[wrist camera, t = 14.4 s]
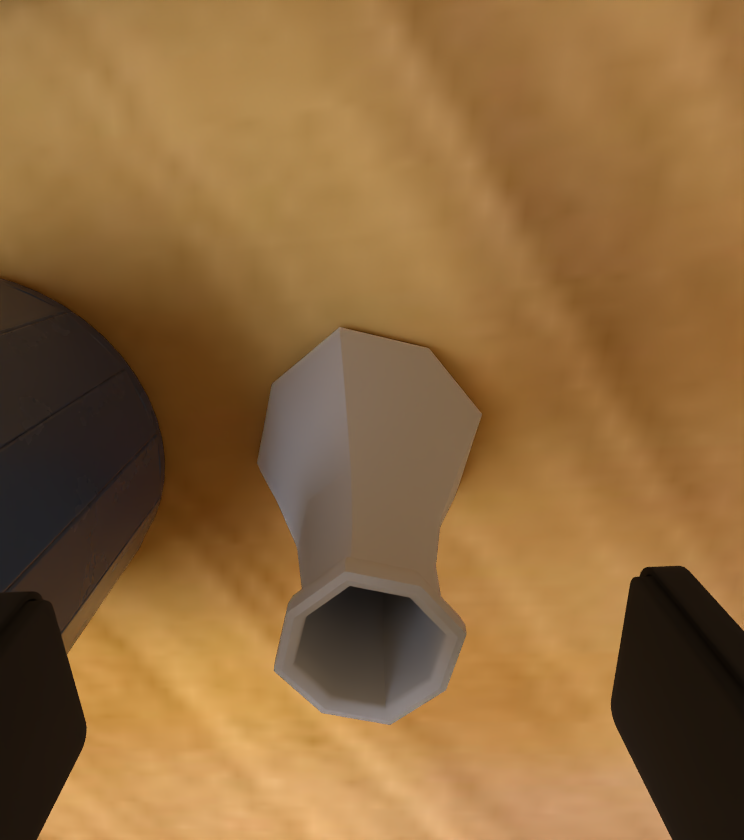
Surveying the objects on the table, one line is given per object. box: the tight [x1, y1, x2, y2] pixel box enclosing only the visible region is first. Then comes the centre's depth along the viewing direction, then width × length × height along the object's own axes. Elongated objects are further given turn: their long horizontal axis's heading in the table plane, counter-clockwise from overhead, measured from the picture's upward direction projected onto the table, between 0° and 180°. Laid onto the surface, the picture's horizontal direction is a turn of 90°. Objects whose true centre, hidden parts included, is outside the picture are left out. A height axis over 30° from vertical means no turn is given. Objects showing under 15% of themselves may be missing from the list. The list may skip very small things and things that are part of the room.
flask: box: [257, 327, 482, 725], centre depth 14 cm, size 7×7×10 cm
